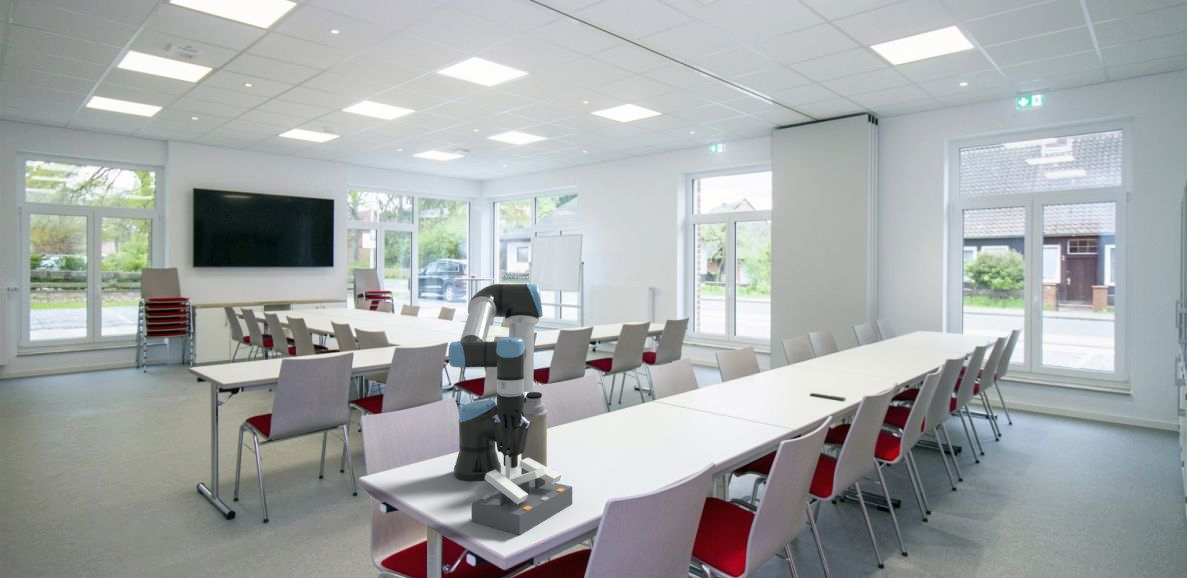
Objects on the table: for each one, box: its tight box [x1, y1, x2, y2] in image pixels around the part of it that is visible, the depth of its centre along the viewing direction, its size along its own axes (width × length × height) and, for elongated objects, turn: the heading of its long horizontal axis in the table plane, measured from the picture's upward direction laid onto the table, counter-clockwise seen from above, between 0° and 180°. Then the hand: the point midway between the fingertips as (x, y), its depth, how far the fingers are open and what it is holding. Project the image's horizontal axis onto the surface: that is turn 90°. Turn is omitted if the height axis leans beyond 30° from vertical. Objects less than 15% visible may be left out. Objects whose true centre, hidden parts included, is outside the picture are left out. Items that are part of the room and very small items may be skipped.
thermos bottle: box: [520, 391, 548, 475], centre depth 190 cm, size 8×8×28 cm
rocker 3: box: [518, 458, 562, 484], centre depth 172 cm, size 12×4×2 cm, turn 59°
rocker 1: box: [484, 469, 528, 504], centre depth 159 cm, size 12×4×2 cm, turn 59°
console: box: [471, 477, 573, 536], centre depth 166 cm, size 16×24×8 cm, turn 149°
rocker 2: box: [510, 468, 545, 485], centre depth 166 cm, size 12×4×2 cm, turn 58°
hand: (510, 478), depth 168 cm, fingers closed
